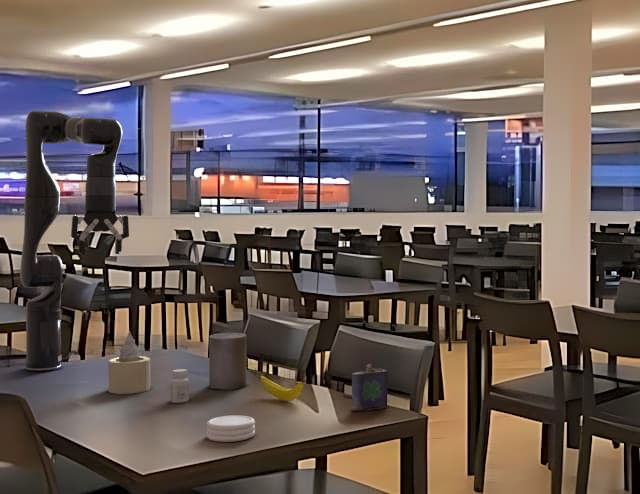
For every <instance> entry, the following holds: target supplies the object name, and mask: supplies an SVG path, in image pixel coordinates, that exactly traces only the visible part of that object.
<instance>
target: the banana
mask: <svg viewBox="0 0 640 494" xmlns="http://www.w3.org/2000/svg"><path fill="white" fill-rule="evenodd" d="M259 378H260V382H261V384H262V386H263V388H264V389H265V391H266V392H268V394H270V395H271V396H273V397H274V398H276V399H278V400H281V401H284V402H292V401H294V400H295V399H297V398H298V397H299V396H301V394H302V392H303V389H304V387H305V385H304V383H305V382H306V380H305V379H302V380H301V382H298V383H297V384H295V385H294V386H293V387H292V388H287V387H284V386H281V385H280V384H278V383H276V382H273V381H272V380H270V379H268V378H267V377H266V376H264V375H259Z"/></svg>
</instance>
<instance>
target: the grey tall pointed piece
mask: <svg viewBox="0 0 640 494" xmlns="http://www.w3.org/2000/svg"><path fill="white" fill-rule="evenodd" d="M123 343H124V344H123V345H122V346H121V347H120V349H119V353H120V354H119V358H120V361H121V362H133V361H138V358H139V356H140V348H139V347H138V345H137V344H136V340H135V339H134V338H133V335H132V333H131V331H130V330H128V333H127V335H126V338H125V340H124V341H123Z"/></svg>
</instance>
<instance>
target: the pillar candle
mask: <svg viewBox="0 0 640 494" xmlns="http://www.w3.org/2000/svg"><path fill="white" fill-rule="evenodd" d="M208 338H209V349H208V352H209V353H208V354H209V356H208V357H209V361H208V362H209V363H208V365H209V367H208V369H209V370H208V374H209V377H208V380H209V381H208V386H209V388H210V389H212V390H223V391H224V390H225V391H226V390H227V391H228V390H237V389H241V388H244V387H246V386H247V334H245V333H242V332H230V330H228V331H227V332H220V333H213V334H211V335H208Z"/></svg>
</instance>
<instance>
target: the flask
mask: <svg viewBox="0 0 640 494" xmlns="http://www.w3.org/2000/svg"><path fill="white" fill-rule="evenodd" d="M364 366H366V368H365V371H357V372H353V373H352V374H351V411H353V412H363V411H372V410H377V409H379V410H380V409H387V408H388V392H389V391H388V382H389V378H388V377H389V372H388V370H387V369H383V368H373V367H372V363H367V364H365V365H364Z"/></svg>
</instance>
